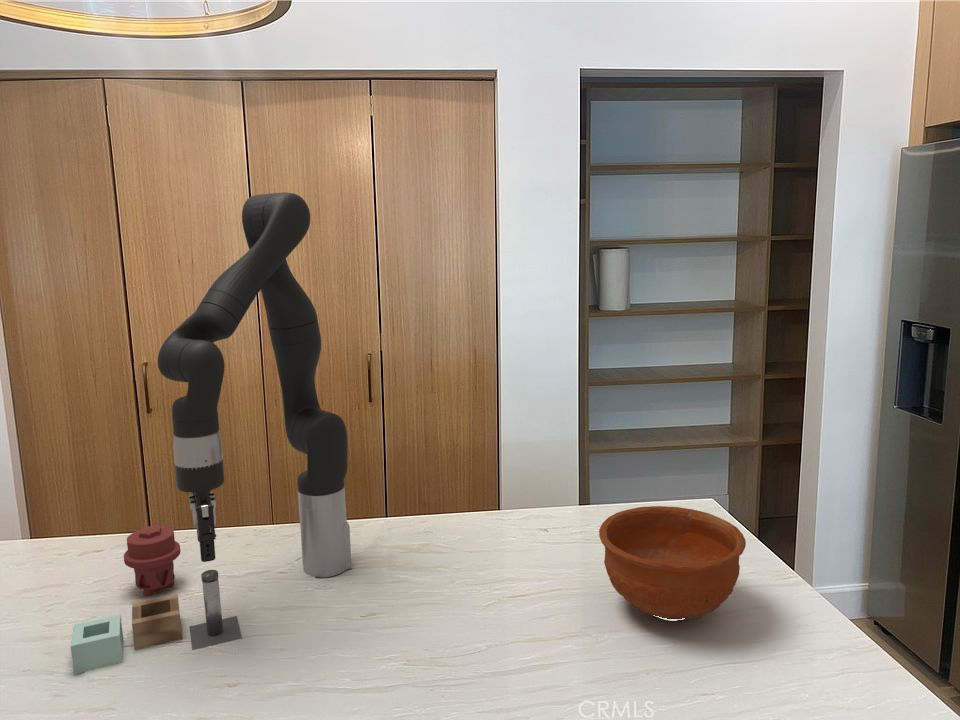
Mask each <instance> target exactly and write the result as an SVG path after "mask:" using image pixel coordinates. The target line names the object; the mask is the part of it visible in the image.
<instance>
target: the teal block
mask: <svg viewBox="0 0 960 720" xmlns="http://www.w3.org/2000/svg"><path fill="white" fill-rule="evenodd" d="M71 633H72V634H71V640H70V645H69V647H70V652H71V654H70V655H71V659H72V668H73V675H79V674H83V673H85V672H86V671H89V670H93V669H98V668H101V667H106V666H111V665H114V664H119V663H122V662H124V643H125V642H124V634H123V624H122V616H121V614H117V615H112V616H107V617H103V618H102V617H101V618H97V619H93V620H89V621H84V622H79V623H74V624H73V627H72V632H71Z"/></svg>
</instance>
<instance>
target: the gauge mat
mask: <svg viewBox="0 0 960 720" xmlns="http://www.w3.org/2000/svg"><path fill="white" fill-rule="evenodd" d="M222 623H223V632H222V633H221V634H220V635H217V636H209V635H208V634H207V625H206V622H204V623H203V622H202V623H199V624H194V625H189V626H188V627H189V628H188V629H189V635H190V644H191V650H192V651H194V650H198V649H204V648H207V647H211V646H212V647H213V646H216V645H220V644H225V643H229V642H233V641H236V640H241V639H243V635H242V631H241V627H240V623H239V620H238V617H237V615H234V616H229V617H224V618H222Z"/></svg>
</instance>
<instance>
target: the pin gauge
mask: <svg viewBox="0 0 960 720" xmlns="http://www.w3.org/2000/svg"><path fill="white" fill-rule="evenodd" d="M200 575H201V581H202V582H201V583H202V592H203V595H202V596H203V602H204V612H205V613H204V614H205V623H206V625H207V634H208V635H209V636H217V635H220V634H221V633H222V632H223V623H222V619H223V614H222V604H221V593H220V581H219V571H218V570H217V569H208V570H205V571H203V572H201V574H200Z"/></svg>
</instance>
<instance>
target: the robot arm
mask: <svg viewBox="0 0 960 720" xmlns="http://www.w3.org/2000/svg"><path fill="white" fill-rule="evenodd" d="M241 223H242V229H243V233H244V237H245V239H246V244H247V246H248V251H247V252H246V253H245V254H243V255H242V256H241V257H240V258H239V259H238V260H236V262H234V263H233V264H232V265H230V266H229V267H228V268H227V269H226V270H224V271H223V272H222V273H221V274H220V275H219V277H218V278H217V279H215V281H214V282H213V283H212V284H211V286H210V287H209V289H208V290H207V292H206V294H205V295H204V297H203V299H201V301H200V303H199V304H198V306H197V308H196V310H195V311H194V312H193V313H192V314H191V315H189V317H187V318H186V319H185V320H184V321H183V322H182V323H181V324H179V326H178V327H177V328H176V329H175V330H174V331H172V332H171V334H170V335H168V336H167V338H166V339H165V341H164V342H163V343H162V345H161V347H160V349H159V351H158V356H157V368H158V370H159V372H160V373H161V375H162V376H163V377H164V378H166V379H168V380H170V381H173V382H178V383H179V382H182V383H187V391H186V395H184V396H181V397H179V398H177V399H175V400H174V401H173V402H172V405H171V414H172V415H171V416H172V417H171V418H172V429H173V445H172V446H173V460H174V471H175V484H176V488H177V489H178V490H179V491H180V492H183V493H187V494H188V493H192V495H188V501H189V507H190V511H191V514H192V520H193V527H194V528H195V529H196V536H197V538H196V539H197V541H198V542H199V551H200V561H201V562H202V563H206V562H212V561H215V560H216V550H215V549H216V547H215V540H216V538H217V533H216V529H215V527H216V526H215V525H217V516H216V515H217V514H216V506H217V505H216V504H217V503H216V502H217V501H216V497H215V493H214V492H213V490H215V489H219V488H220V487H222V486H223V485H224V483H225V480H226V479H225V467H224V456H223V454H224V453H223V444H222V442H223V441H222V438H221V434H220V422H219V412H218V411H219V410H218V407H219V405H218V404H219V400H220V397H221V390H222V387H223V386H222V385H223V380H224V377H225V376H224V374H225V367H226V366H225V359H224V355H223V353H222V351H221V349H220V348H219V346H218V345H217V344H215V342H216V343H217V342H218V341H223V340H227V339H229V338H230V337H231V336H233V334H234V333H235V332H236V330H237V328H238V327H239V325H240V323H241V322H242V320H243V318H244V317H245V315H246V314H247V311H248V310H249V308H250V306H251V305H252V303H253V301H254V300H255V299H256V297H257V295H259V292H260V293H261V296H262V301H263V305H264V309H265V314H266V315H265V316H266V321H267V327H268V332H269V336H270V341H271V345H272V349H273V354H274V358H275V363H276V369H277V374H278V378H279V383H280V389H281V396H282V404H283V416H284V417H283V419H284V427H285V433H286V438H287V440H288V442H289V444H290V445H291V447H292V448H293V449H295V450H296V451H298V452H300V453H302V454H305V455H307V457H306V459H307V460H306V461H307V466H306V467H307V469H306V470H305V471H303V472H300V474H299V475H298V476H297V478H296V479H297V481H296V484H297V485H296V486H297V498H298V500H297V501H298V512H299V527H300V528H299V529H300V541H301V554H302V555H301V556H302V557H301V558H302V569H303V572H304V573H305V574H306V575H308V576H309V577H315V578H330V577H335V576H337V575H340V574H341V573H344V572H345V571H347V570H351V569H352V567H353V566H352V565H353V563H352V549H351V546H352V545H351V533H350V532H351V531H350V524H349V522H348V521H347V506H346V490H345V479H346V475H347V472H348V467H349V466H348V463H349V462H348V461H349V460H348V459H349V457H348V452H349V451H348V450H349V449H348V446H349V445H348V441H349V440H348V430H347V427H346V423H345V422H344V420H343V418H342V417H341V416H340V415H338V414H336V413H333V412H331V411H327V410H323V409H322V408H321V406H320V403H319V399H318V393H317V389H316V381H315V380H316V379H315V378H316V373H317V372H316V371H317V367H318V364H319V360H320V356H321V351H322V336H321V331H320V324H319V318H318V314H317V310H316V308H315V305H314V304H313V302H312V301H311V299H310V298H309V296H308V295H307V293H306V292H305V290H304V289H303V288H302V286H301V285H300V283H299V282H298V281H297V279H296V278H295V277H294V275H293V273H292V271H291V269H290V266H289V264H288V261H287V258H288V256H289V255H290V254H291V253H292V252H293V251H294V250H295V248H297V247H298V245H299V244H300V243H301V242H302V240H303V239H304V238H305V237H306V235H307V233H308V231H309V228H310V225H311V212H310V208H309V206H308V204H307V202H306V201H305V200H304V199H303V197H301V196H300V195H299V194H296V193H292V192H272V193H261V194H255V195H252V196H250V197H248V198H247V199H246V201H244V204H243V206H242V212H241ZM211 491H212V492H211Z"/></svg>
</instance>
